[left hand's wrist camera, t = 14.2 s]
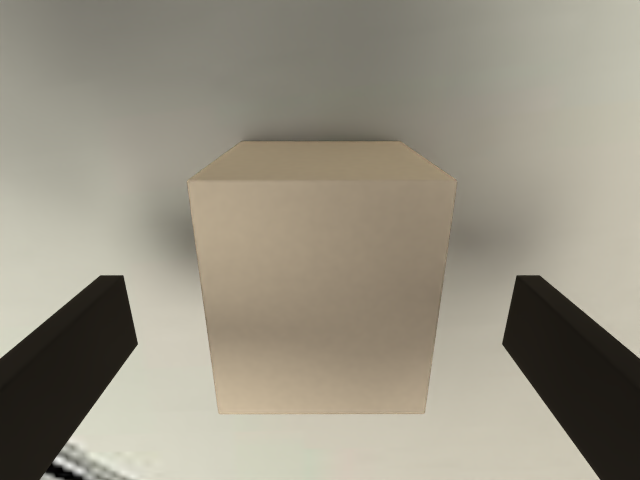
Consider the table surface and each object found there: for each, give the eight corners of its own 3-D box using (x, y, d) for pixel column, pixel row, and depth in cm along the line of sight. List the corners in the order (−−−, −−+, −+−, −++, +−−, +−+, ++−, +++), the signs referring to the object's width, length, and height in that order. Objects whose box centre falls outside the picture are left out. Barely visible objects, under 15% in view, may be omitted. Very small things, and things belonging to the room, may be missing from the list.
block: (252, 300, 21) (217, 415, 14) (240, 141, 17) (185, 179, 10) (388, 300, 21) (425, 414, 14) (401, 140, 17) (459, 179, 10)
